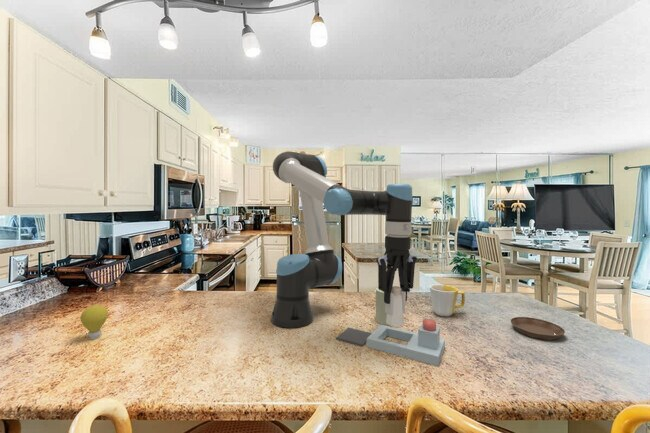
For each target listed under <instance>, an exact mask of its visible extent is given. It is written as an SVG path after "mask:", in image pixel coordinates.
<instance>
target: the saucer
mask: <svg viewBox="0 0 650 433" xmlns="http://www.w3.org/2000/svg"><path fill="white" fill-rule="evenodd" d="M510 323H511V325H512V326H513V327H514V328H515V330H517V331H518V332H519V333H520V334H522V335H525V336H527V337H530V338H534V339H538V338H539V340H545V339H547V341H552V339H553V340H556V339H559V338H560V337H562V336H564V335H565V333H566V330H565V329H564V328H563V327H561V326H560V325H558V324H556V323H554V322H550V321H548V320H544V319H542V318H541V319H540V318H535V317H527V316H526V317H525V316H515V317H512V318H511V319H510ZM554 333H555V334H556V335H554Z"/></svg>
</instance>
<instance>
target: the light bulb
mask: <svg viewBox="0 0 650 433" xmlns="http://www.w3.org/2000/svg"><path fill="white" fill-rule="evenodd" d="M108 317H109V312H108V310H107V308H106V307H104V306H102V305H100V304H99V305H98V304H95V305H91V306H89V307H87V308H86V309H84V311H82V313H81V314H80V319H79V320H80V323H81V324H82V325H83V326H84V328H85V329H86V330H87V331H88V332H87V336H88V337H89V340H97V339H99V338H100V337H101V334H102V329H101V328H102V326H103V325H104V324H105V323H106V321H107V318H108Z"/></svg>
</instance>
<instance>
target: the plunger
mask: <svg viewBox="0 0 650 433" xmlns="http://www.w3.org/2000/svg"><path fill="white" fill-rule="evenodd" d="M422 324H423V329H424V330H427V331H435V330H436V327H437V321H435V320H433V319H429V318H427V319H423V320H422Z"/></svg>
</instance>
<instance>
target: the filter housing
mask: <svg viewBox="0 0 650 433" xmlns="http://www.w3.org/2000/svg"><path fill="white" fill-rule="evenodd" d="M371 333H372V334H371V335H370V336H369V337H368V338H367V343H366V348H368V349H369V348H370V349H374V350H377V351H381V352H384V353H388V354H392V355H395V356H398V357H399V356H400V357H403V358H407V359H411V360H414V361H418V362H422V363H426V364H429V365H432V366H437V367H439V365H440V362H441V359H442V356H443V354H444V351H445V348H446V339H445V338H442V337H441V327H439V326H436V330H435V331H427V330H424V329H423V323H421V325H420V326H419V327H418V329H417V332H414V331H410V330H406V329H402V328H399V327H398V328H397V327H394V326H388V325H382V324H379V325H378V326H377V328H376V329H374V331H372V332H371ZM386 337H389V338H393V339H398V340H402V341H406V342H408V343H407V344H401V343H397V342H394V341H389V340H386V339H385V338H386Z"/></svg>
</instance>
